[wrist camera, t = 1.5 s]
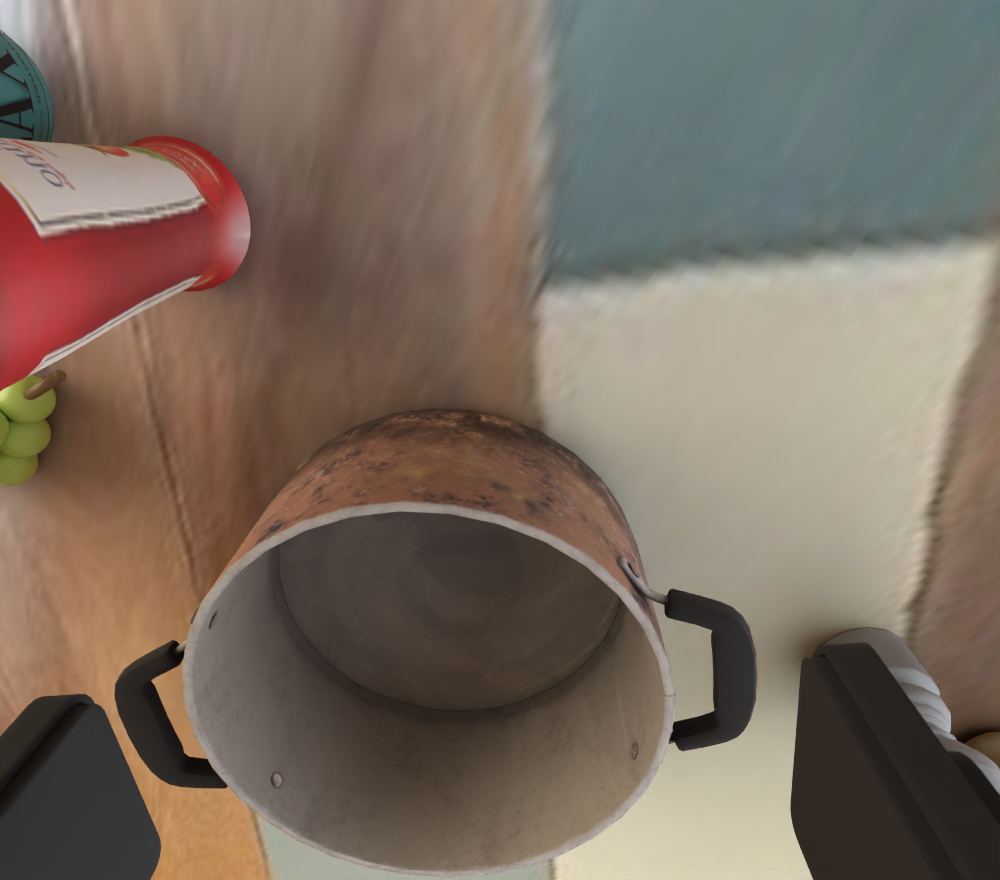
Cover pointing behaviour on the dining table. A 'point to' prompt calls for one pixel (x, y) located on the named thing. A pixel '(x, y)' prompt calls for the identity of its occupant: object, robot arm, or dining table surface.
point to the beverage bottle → (23, 96)
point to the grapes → (25, 425)
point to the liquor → (106, 239)
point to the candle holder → (918, 691)
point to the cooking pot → (436, 655)
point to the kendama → (987, 745)
